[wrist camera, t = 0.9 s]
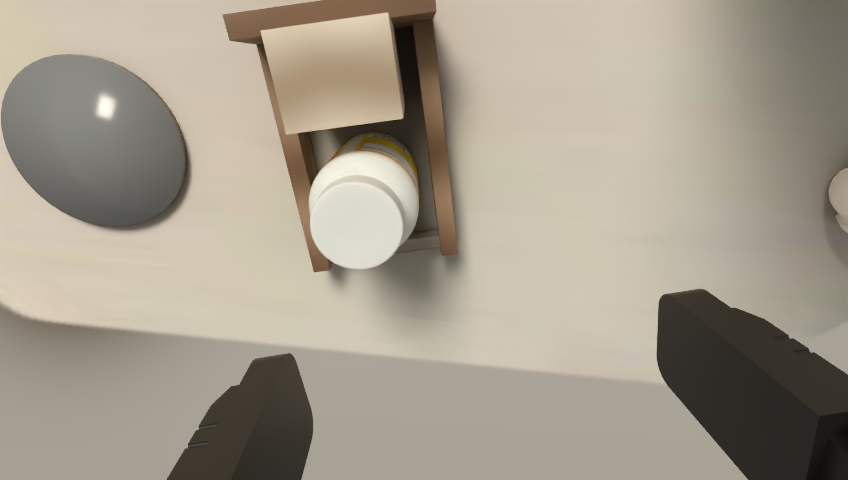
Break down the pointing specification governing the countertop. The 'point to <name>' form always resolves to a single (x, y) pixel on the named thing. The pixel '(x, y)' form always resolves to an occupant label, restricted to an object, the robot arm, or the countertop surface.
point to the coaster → (93, 140)
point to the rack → (348, 88)
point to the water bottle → (840, 197)
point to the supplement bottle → (364, 201)
